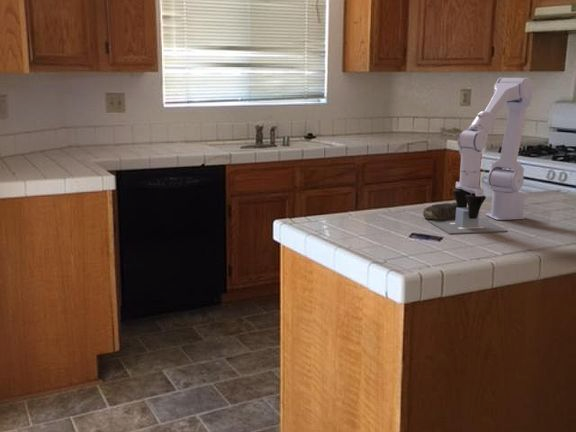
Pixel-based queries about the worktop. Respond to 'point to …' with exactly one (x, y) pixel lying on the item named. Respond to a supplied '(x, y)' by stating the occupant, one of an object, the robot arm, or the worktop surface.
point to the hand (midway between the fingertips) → (467, 215)
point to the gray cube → (465, 218)
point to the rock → (441, 211)
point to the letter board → (453, 228)
